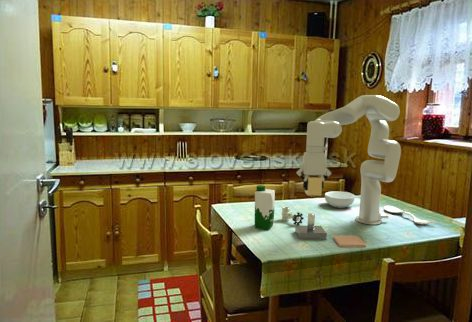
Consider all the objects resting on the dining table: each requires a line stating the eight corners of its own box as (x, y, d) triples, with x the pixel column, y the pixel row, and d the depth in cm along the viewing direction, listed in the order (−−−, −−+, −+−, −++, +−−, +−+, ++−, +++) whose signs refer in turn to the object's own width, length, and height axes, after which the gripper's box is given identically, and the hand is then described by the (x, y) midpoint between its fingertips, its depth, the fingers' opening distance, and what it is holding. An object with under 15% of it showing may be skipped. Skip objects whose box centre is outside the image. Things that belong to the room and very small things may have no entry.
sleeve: (318, 192, 173) (318, 174, 172) (321, 195, 167) (322, 177, 166) (304, 192, 173) (305, 174, 172) (307, 195, 167) (308, 177, 166)
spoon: (420, 228, 187) (421, 221, 186) (379, 210, 217) (380, 204, 217) (435, 227, 189) (436, 220, 189) (393, 209, 220) (393, 203, 219)
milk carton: (257, 223, 189) (258, 183, 186) (275, 225, 186) (276, 185, 183) (252, 228, 181) (253, 187, 177) (270, 231, 178) (272, 189, 174)
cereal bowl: (323, 201, 233) (323, 190, 232) (351, 203, 230) (352, 191, 229) (325, 209, 216) (326, 197, 215) (355, 211, 214) (356, 198, 213)
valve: (277, 220, 195) (293, 226, 185) (278, 207, 194) (293, 213, 184) (287, 218, 198) (303, 224, 188) (288, 205, 197) (304, 211, 187)
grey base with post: (320, 231, 178) (321, 211, 176) (326, 239, 168) (327, 217, 167) (295, 231, 178) (296, 210, 176) (299, 239, 168) (300, 217, 166)
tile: (356, 237, 171) (357, 235, 171) (365, 247, 160) (366, 244, 160) (332, 237, 171) (332, 235, 171) (339, 247, 160) (340, 244, 160)
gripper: (332, 148, 171) (330, 187, 174) (293, 148, 170) (292, 187, 173) (336, 150, 163) (334, 191, 166) (296, 150, 163) (295, 191, 166)
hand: (313, 189), depth 170 cm, fingers closed on sleeve, 6 cm apart
